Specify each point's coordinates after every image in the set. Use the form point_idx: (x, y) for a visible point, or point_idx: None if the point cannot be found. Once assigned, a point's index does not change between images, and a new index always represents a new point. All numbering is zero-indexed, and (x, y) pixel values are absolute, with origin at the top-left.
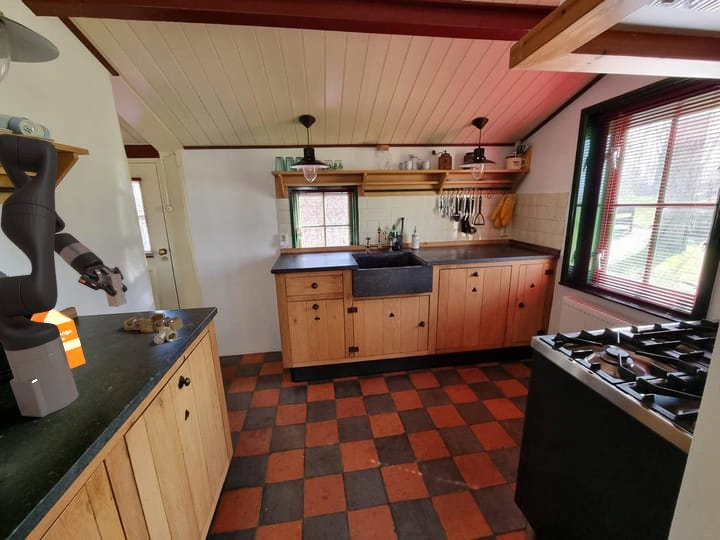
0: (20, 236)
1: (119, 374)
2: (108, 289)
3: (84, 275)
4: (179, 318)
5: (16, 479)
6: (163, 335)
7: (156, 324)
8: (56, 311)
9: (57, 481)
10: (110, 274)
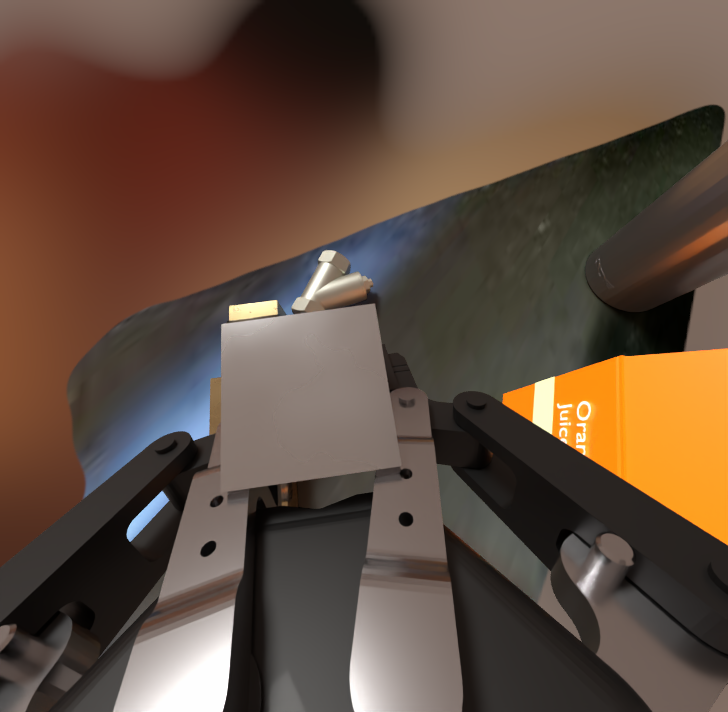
0: None
1: (503, 254)
2: (406, 376)
3: (679, 705)
4: (231, 311)
5: None
6: (347, 275)
7: None
8: None
9: (678, 115)
10: (273, 444)
